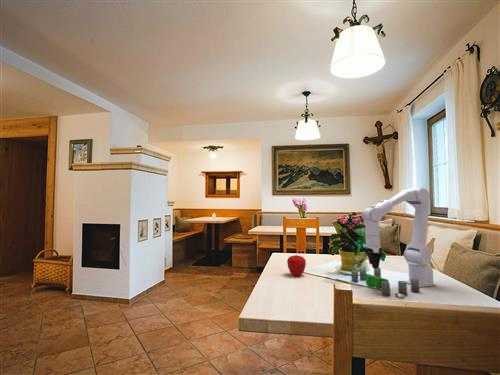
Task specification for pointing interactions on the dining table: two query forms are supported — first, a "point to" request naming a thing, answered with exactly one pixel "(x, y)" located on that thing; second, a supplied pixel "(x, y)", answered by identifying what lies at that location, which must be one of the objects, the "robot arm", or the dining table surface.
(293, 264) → the red rounded piece
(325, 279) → the dining table surface
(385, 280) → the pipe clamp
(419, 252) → the robot arm
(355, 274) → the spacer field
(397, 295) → the steel nut
